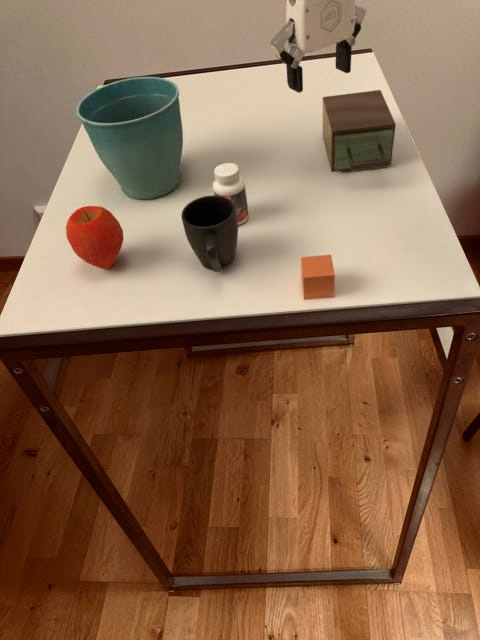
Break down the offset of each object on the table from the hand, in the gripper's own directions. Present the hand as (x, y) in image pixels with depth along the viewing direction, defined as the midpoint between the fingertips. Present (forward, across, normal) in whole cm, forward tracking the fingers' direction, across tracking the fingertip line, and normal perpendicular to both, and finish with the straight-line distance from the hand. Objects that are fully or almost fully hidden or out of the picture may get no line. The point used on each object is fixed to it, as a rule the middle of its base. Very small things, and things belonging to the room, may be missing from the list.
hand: (319, 80), depth 84 cm
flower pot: (+17, -27, +19) cm, 37 cm away
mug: (+17, -29, -11) cm, 35 cm away
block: (+17, -19, -25) cm, 36 cm away
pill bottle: (+17, -20, -2) cm, 27 cm away
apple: (+17, -43, +1) cm, 47 cm away
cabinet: (+17, +10, +1) cm, 20 cm away
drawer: (+16, +7, -3) cm, 18 cm away
